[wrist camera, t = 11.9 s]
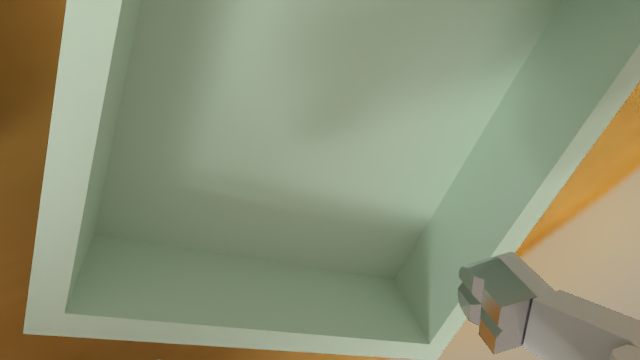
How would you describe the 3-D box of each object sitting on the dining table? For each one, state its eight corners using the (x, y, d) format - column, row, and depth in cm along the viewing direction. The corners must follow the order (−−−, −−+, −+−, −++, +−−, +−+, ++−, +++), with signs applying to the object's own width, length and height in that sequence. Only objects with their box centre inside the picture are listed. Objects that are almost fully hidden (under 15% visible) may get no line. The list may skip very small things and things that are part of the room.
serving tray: (396, 288, 22) (436, 360, 19) (66, 240, 16) (23, 333, 12) (609, -63, 15) (745, -64, 12) (171, -381, 9) (147, -610, 5)
